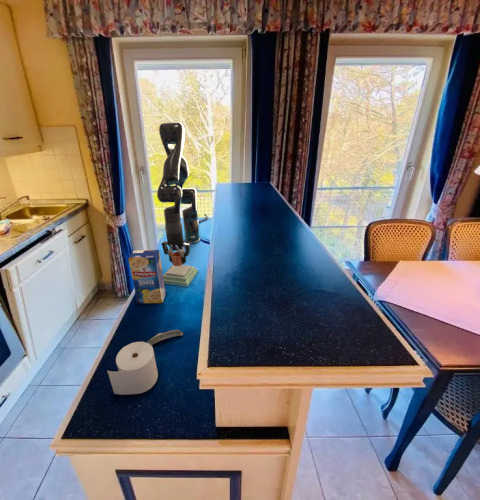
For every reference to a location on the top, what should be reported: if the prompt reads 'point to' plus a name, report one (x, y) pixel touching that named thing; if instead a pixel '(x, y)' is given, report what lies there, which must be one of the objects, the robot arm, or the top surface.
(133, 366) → the toilet tissue
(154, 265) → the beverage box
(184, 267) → the beige square slab
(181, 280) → the light green stepped block
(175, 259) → the terracotta cup
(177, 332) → the ceramic fragment
